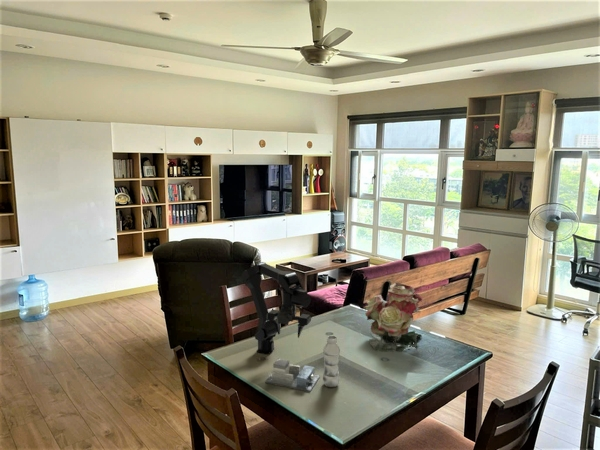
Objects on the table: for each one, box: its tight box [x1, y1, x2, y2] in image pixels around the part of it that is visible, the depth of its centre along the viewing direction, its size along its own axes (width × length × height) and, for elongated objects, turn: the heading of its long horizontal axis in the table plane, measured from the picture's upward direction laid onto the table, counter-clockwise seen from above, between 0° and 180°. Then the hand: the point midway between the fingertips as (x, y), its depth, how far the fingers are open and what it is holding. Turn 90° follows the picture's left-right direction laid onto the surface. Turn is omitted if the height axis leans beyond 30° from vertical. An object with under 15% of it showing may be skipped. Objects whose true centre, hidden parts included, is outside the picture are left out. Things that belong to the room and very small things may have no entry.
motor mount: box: [265, 363, 321, 393], centre depth 177 cm, size 19×12×5 cm, turn 70°
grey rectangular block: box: [272, 357, 290, 374], centre depth 179 cm, size 5×5×6 cm
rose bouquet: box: [363, 282, 424, 353], centre depth 210 cm, size 26×29×30 cm
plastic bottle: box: [322, 335, 341, 388], centre depth 172 cm, size 6×7×20 cm
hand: (288, 335), depth 191 cm, fingers open, 9 cm apart
